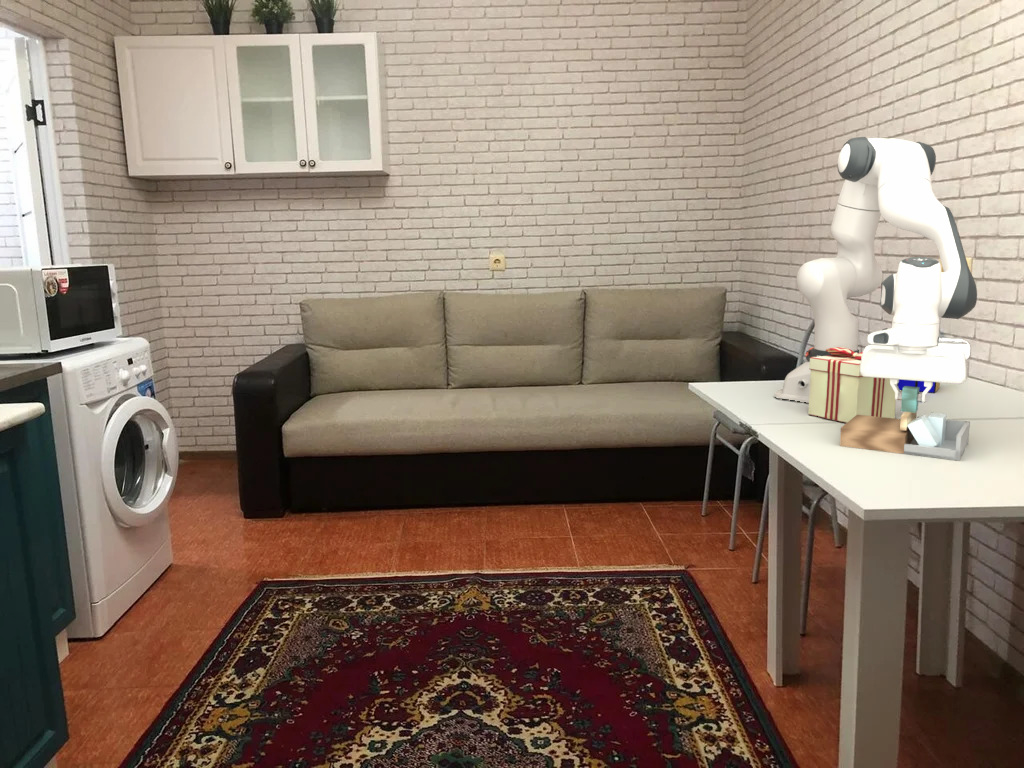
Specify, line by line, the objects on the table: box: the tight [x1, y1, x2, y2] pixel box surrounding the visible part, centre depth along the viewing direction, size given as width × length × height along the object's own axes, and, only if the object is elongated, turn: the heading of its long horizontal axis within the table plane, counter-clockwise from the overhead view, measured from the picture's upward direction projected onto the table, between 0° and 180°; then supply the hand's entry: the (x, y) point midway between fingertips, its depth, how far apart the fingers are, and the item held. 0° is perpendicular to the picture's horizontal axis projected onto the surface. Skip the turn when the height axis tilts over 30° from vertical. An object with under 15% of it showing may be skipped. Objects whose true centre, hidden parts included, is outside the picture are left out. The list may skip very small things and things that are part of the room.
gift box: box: [807, 347, 897, 424], centre depth 193 cm, size 17×18×17 cm
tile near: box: [907, 414, 941, 447], centre depth 161 cm, size 6×5×3 cm
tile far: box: [926, 411, 948, 446], centre depth 165 cm, size 6×5×3 cm
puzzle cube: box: [897, 379, 941, 394], centre depth 226 cm, size 10×10×10 cm
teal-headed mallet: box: [900, 386, 920, 431], centre depth 165 cm, size 3×12×8 cm, turn 144°
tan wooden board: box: [839, 415, 914, 455], centre depth 169 cm, size 12×15×4 cm
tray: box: [903, 415, 971, 461], centre depth 162 cm, size 10×15×5 cm, turn 144°
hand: (910, 400), depth 164 cm, fingers closed on teal-headed mallet, 3 cm apart
